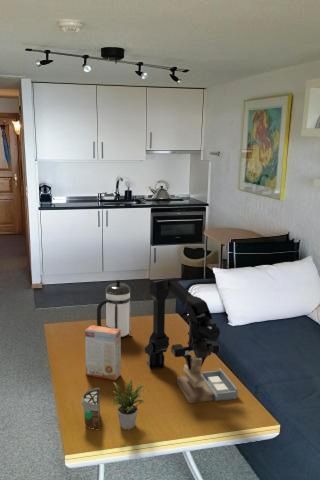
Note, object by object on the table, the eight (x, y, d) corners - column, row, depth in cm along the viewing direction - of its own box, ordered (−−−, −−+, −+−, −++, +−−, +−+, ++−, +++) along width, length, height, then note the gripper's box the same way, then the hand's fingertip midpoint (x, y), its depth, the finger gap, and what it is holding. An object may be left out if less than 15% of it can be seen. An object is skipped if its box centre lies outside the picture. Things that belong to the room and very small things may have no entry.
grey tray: (215, 401, 177) (216, 391, 176) (200, 378, 194) (200, 370, 193) (237, 398, 179) (237, 389, 178) (219, 376, 196) (220, 367, 195)
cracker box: (121, 374, 196) (121, 328, 192) (115, 381, 190) (115, 334, 186) (91, 369, 200) (91, 324, 196) (85, 375, 194) (84, 329, 190)
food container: (83, 412, 167) (82, 387, 165) (100, 411, 168) (99, 386, 166) (80, 432, 155) (79, 406, 153) (98, 432, 156) (98, 405, 154)
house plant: (154, 436, 154) (155, 391, 151) (114, 442, 150) (114, 397, 147) (143, 412, 168) (144, 371, 165) (106, 418, 164) (106, 376, 161)
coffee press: (105, 329, 244) (105, 274, 239) (134, 331, 242) (135, 276, 237) (96, 342, 228) (96, 284, 222) (128, 344, 226) (128, 286, 220)
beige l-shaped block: (193, 387, 176) (197, 365, 174) (183, 371, 188) (186, 351, 187) (203, 387, 177) (206, 365, 176) (192, 371, 189) (195, 351, 188)
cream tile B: (211, 386, 186) (211, 382, 186) (207, 381, 191) (207, 377, 190) (221, 385, 187) (222, 381, 187) (217, 380, 192) (218, 376, 191)
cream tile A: (217, 394, 180) (217, 390, 180) (213, 389, 185) (213, 384, 184) (227, 393, 181) (228, 389, 181) (223, 387, 186) (223, 383, 185)
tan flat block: (189, 403, 175) (189, 397, 174) (177, 382, 190) (177, 377, 190) (213, 400, 177) (213, 394, 177) (199, 380, 193) (200, 374, 192)
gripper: (180, 342, 169) (178, 381, 172) (226, 338, 174) (224, 375, 177) (171, 330, 179) (170, 367, 182) (215, 326, 184) (213, 362, 187)
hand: (194, 368), depth 182 cm, fingers closed on beige l-shaped block, 4 cm apart
